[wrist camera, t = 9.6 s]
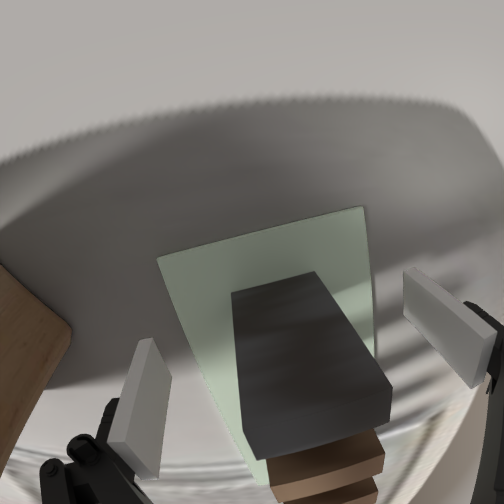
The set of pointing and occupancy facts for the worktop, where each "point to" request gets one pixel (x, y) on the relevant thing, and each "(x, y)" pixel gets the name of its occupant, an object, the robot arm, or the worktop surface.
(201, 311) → the mat
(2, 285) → the block
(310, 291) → the dark gray domino
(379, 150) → the worktop surface
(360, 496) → the domino
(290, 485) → the domino
